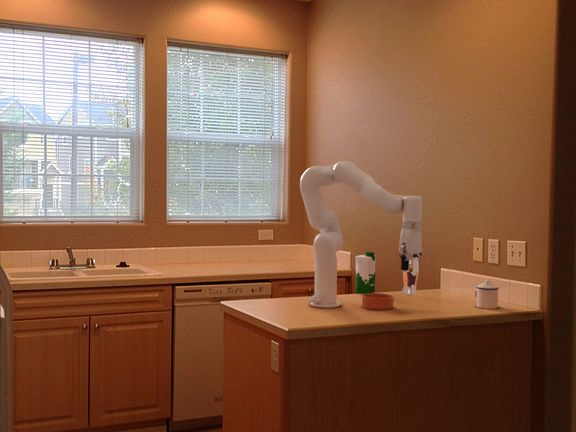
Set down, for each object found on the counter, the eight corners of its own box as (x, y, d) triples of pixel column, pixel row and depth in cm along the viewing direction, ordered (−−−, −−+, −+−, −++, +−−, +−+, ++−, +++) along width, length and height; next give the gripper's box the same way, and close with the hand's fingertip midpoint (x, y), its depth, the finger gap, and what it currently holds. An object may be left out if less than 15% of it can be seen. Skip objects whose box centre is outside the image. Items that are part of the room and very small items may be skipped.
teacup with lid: (502, 308, 280) (503, 281, 280) (486, 309, 276) (487, 282, 276) (482, 303, 291) (483, 277, 290) (466, 305, 287) (467, 278, 286)
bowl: (380, 311, 270) (380, 299, 270) (355, 307, 279) (355, 295, 279) (399, 307, 279) (399, 296, 279) (374, 303, 288) (374, 292, 288)
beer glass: (414, 296, 264) (415, 259, 263) (397, 294, 267) (399, 257, 267) (420, 294, 270) (421, 257, 269) (404, 292, 273) (405, 256, 273)
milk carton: (370, 295, 312) (370, 253, 311) (352, 293, 317) (353, 251, 316) (377, 292, 320) (378, 251, 319) (360, 291, 324) (360, 250, 323)
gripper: (416, 225, 276) (414, 267, 277) (391, 226, 264) (389, 270, 265) (431, 226, 271) (429, 269, 272) (407, 227, 258) (405, 272, 259)
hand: (410, 269), depth 268 cm, fingers closed on beer glass, 7 cm apart
